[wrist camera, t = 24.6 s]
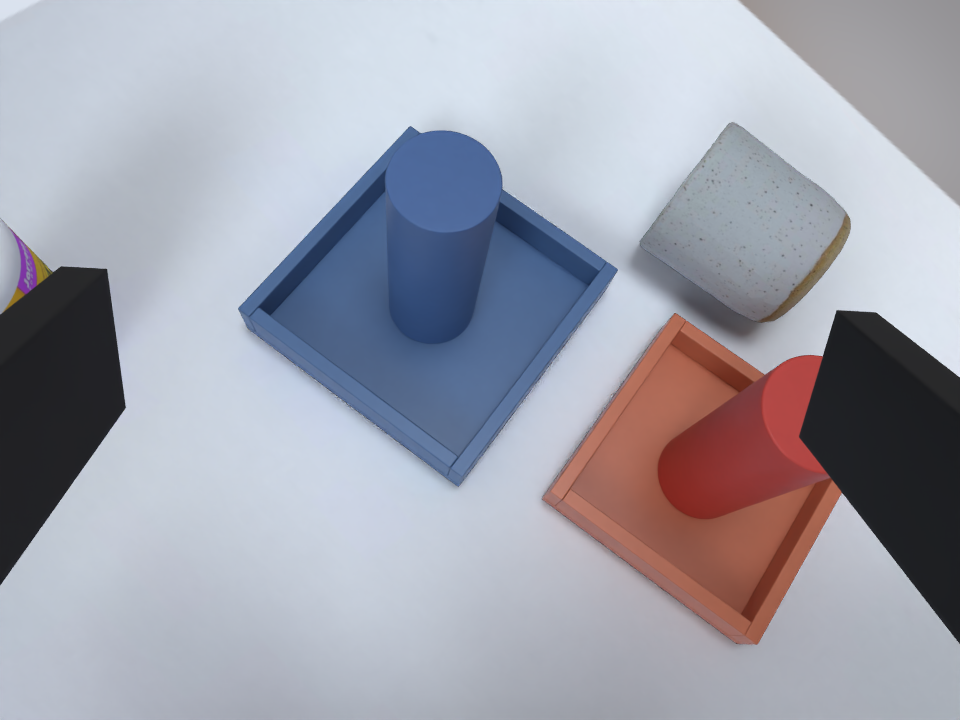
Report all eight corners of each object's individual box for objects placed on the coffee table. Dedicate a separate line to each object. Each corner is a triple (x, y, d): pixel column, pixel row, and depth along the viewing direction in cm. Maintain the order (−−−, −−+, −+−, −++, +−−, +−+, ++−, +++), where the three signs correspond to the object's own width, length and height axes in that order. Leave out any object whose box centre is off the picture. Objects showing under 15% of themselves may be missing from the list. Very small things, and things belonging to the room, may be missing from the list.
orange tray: (843, 455, 41) (868, 445, 39) (736, 644, 37) (757, 645, 35) (661, 328, 42) (675, 312, 40) (541, 498, 39) (549, 491, 37)
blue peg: (490, 297, 41) (525, 173, 30) (440, 360, 40) (456, 254, 29) (424, 250, 42) (433, 109, 30) (371, 310, 40) (360, 186, 29)
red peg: (758, 466, 40) (901, 401, 29) (715, 537, 38) (847, 499, 27) (685, 414, 40) (797, 331, 29) (640, 483, 39) (739, 423, 28)
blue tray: (605, 289, 43) (618, 269, 40) (458, 487, 39) (462, 477, 36) (409, 152, 44) (410, 124, 42) (247, 328, 40) (237, 308, 38)
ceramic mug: (748, 353, 42) (822, 293, 35) (621, 267, 43) (668, 192, 36) (833, 216, 46) (916, 137, 39) (714, 140, 47) (773, 48, 40)
